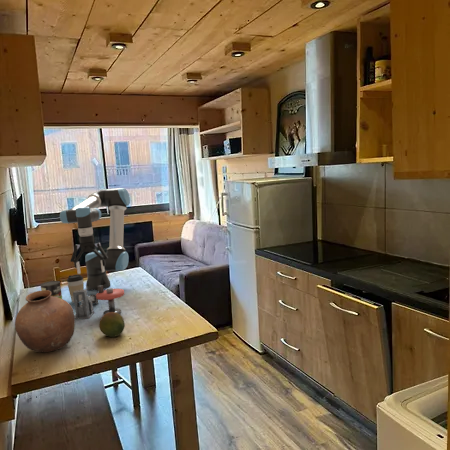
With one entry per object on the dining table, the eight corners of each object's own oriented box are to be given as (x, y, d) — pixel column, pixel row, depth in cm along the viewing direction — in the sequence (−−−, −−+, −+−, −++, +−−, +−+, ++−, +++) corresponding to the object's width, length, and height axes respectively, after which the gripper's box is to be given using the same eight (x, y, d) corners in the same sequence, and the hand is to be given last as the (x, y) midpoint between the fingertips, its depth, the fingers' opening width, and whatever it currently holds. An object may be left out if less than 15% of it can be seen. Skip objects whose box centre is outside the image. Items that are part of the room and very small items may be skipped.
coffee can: (67, 304, 233) (63, 280, 231) (56, 310, 223) (52, 285, 221) (51, 304, 235) (47, 280, 233) (39, 310, 225) (36, 286, 223)
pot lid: (129, 291, 214) (128, 282, 213) (114, 300, 201) (113, 290, 200) (106, 291, 219) (105, 281, 218) (90, 299, 206) (89, 289, 205)
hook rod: (92, 303, 230) (92, 291, 231) (98, 303, 230) (98, 291, 231) (80, 302, 212) (80, 289, 214) (86, 302, 212) (86, 289, 214)
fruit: (116, 327, 191) (114, 307, 189) (133, 333, 183) (131, 311, 181) (95, 336, 182) (92, 315, 181) (111, 342, 174) (109, 320, 173)
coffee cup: (88, 297, 242) (85, 273, 240) (81, 302, 233) (78, 277, 231) (74, 298, 243) (70, 273, 241) (66, 303, 234) (63, 278, 232)
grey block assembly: (80, 311, 219) (77, 286, 217) (97, 309, 219) (93, 285, 217) (71, 319, 207) (68, 294, 205) (89, 318, 206) (85, 292, 205)
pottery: (68, 333, 189) (61, 280, 185) (85, 348, 170) (77, 290, 167) (14, 349, 175) (5, 293, 172) (26, 367, 157) (16, 305, 153)
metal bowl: (106, 311, 216) (104, 294, 215) (123, 309, 216) (121, 293, 214) (101, 317, 207) (99, 300, 206) (118, 315, 207) (116, 298, 205)
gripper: (60, 238, 220) (66, 276, 224) (106, 234, 220) (111, 272, 223) (66, 235, 228) (71, 272, 231) (110, 232, 227) (115, 269, 231)
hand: (91, 272), depth 227 cm, fingers open, 13 cm apart
